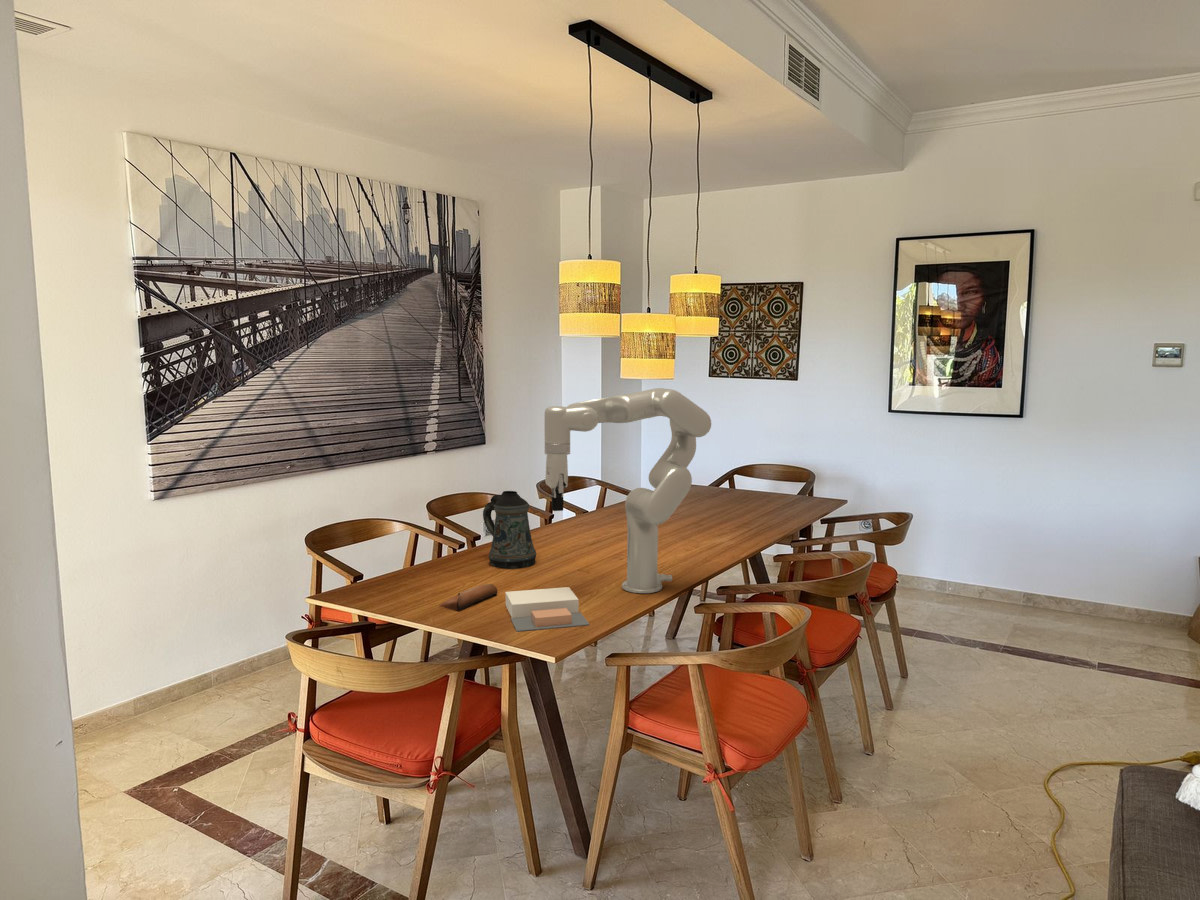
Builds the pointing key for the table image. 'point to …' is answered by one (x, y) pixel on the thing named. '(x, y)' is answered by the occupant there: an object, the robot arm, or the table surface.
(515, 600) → the block
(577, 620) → the mat
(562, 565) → the table surface
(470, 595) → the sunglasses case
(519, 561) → the beer stein
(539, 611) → the tile
